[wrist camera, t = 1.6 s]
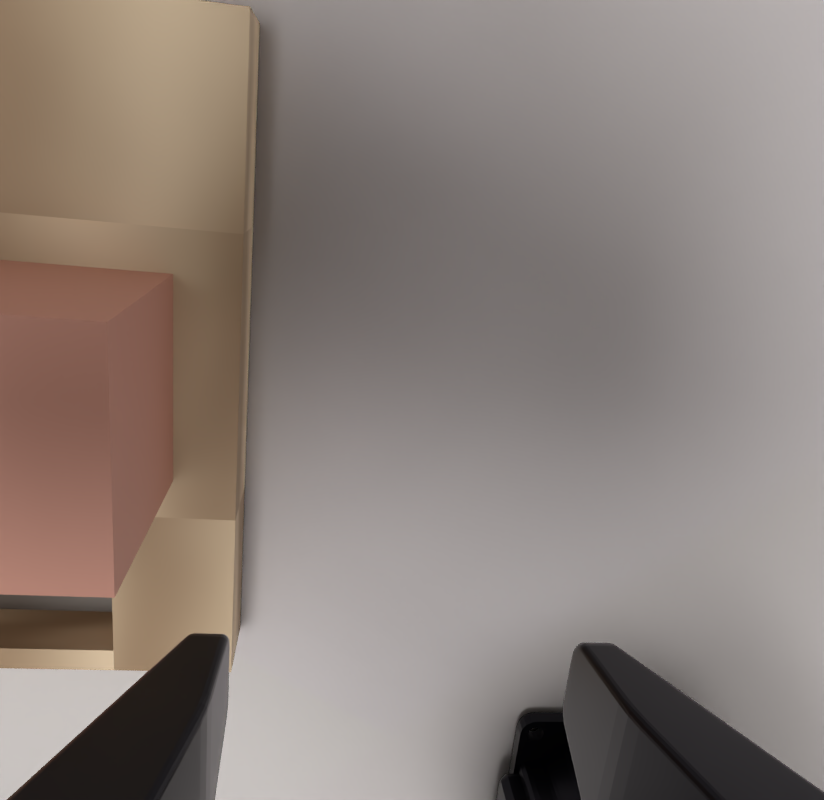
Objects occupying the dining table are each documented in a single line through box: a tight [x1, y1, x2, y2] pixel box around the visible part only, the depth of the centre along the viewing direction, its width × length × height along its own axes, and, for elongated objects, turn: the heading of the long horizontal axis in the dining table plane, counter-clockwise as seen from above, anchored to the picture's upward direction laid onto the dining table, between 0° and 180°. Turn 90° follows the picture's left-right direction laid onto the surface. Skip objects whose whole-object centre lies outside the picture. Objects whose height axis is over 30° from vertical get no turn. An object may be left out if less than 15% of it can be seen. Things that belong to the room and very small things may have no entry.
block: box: [0, 260, 173, 598], centre depth 14 cm, size 5×5×5 cm
